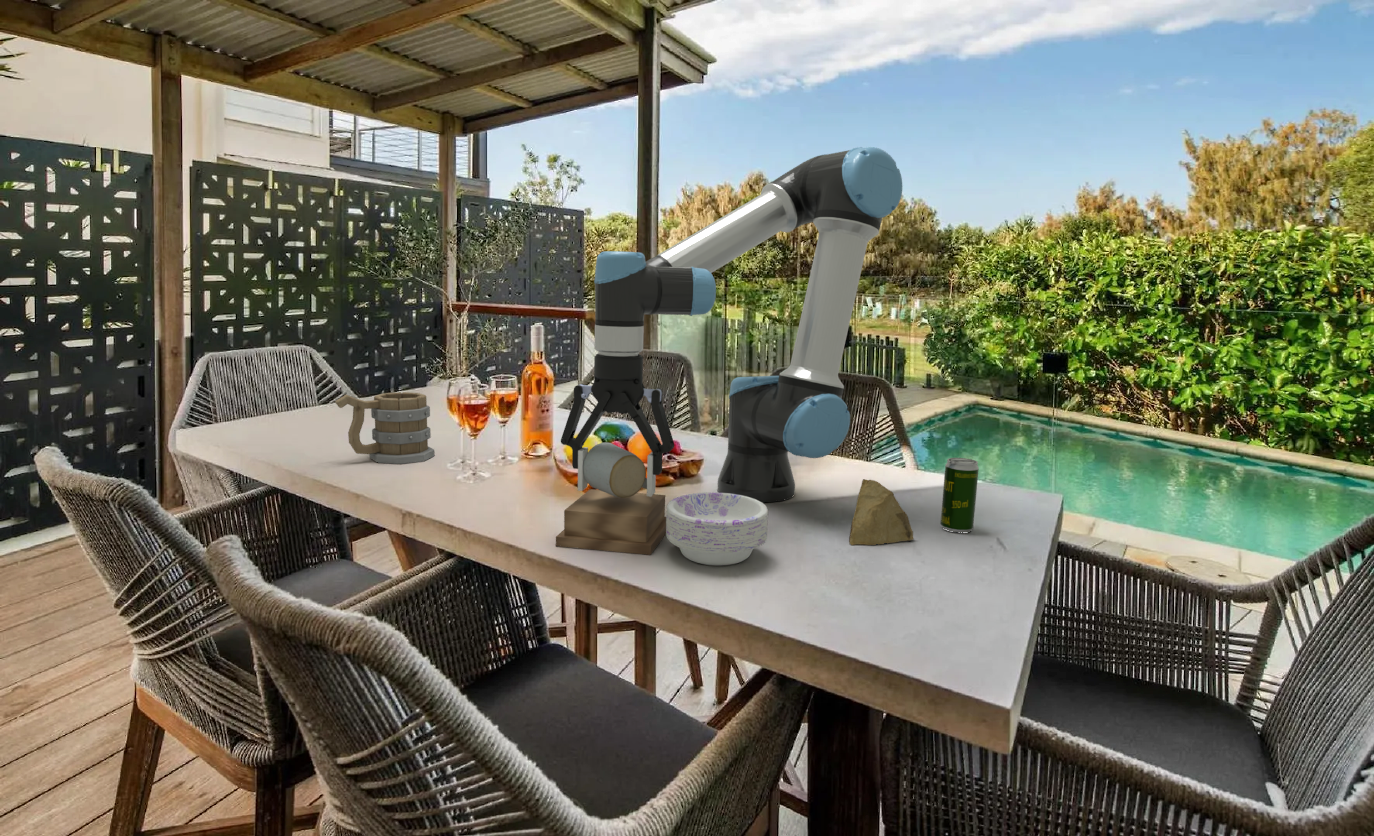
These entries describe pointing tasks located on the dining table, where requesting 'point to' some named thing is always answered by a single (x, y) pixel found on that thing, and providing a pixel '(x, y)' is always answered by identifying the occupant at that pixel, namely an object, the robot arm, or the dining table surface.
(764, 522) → the paper bowls
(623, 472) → the ceramic mug
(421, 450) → the tankard
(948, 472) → the beer can
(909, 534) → the rock
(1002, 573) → the dining table surface
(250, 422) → the dining table surface
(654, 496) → the walnut riser
